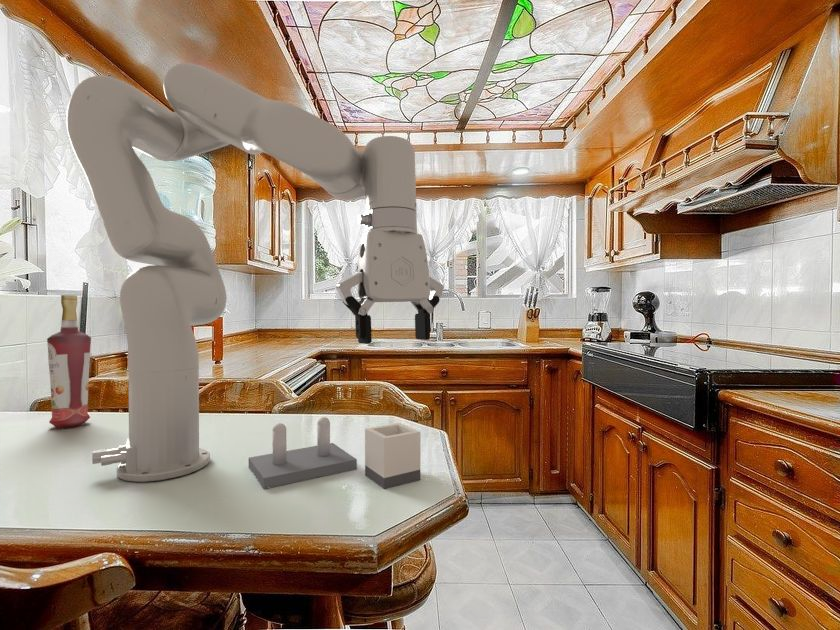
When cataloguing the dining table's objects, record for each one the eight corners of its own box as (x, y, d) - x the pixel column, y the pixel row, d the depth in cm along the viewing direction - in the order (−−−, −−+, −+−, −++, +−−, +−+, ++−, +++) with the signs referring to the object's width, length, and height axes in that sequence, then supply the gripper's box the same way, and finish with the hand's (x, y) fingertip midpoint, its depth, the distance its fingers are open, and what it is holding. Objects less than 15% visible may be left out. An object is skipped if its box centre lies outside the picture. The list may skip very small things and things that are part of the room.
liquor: (97, 424, 94) (96, 295, 94) (55, 432, 88) (54, 294, 88) (83, 419, 98) (82, 296, 98) (42, 427, 92) (40, 295, 91)
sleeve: (384, 488, 60) (384, 438, 60) (365, 475, 65) (365, 428, 65) (420, 479, 63) (420, 431, 63) (399, 467, 68) (399, 422, 68)
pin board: (263, 489, 60) (263, 434, 60) (248, 467, 68) (248, 419, 68) (356, 468, 67) (356, 420, 67) (332, 451, 76) (332, 408, 76)
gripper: (345, 215, 56) (349, 346, 56) (453, 225, 65) (457, 339, 65) (326, 225, 63) (329, 343, 63) (427, 234, 72) (430, 337, 72)
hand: (394, 341), depth 64 cm, fingers open, 9 cm apart
